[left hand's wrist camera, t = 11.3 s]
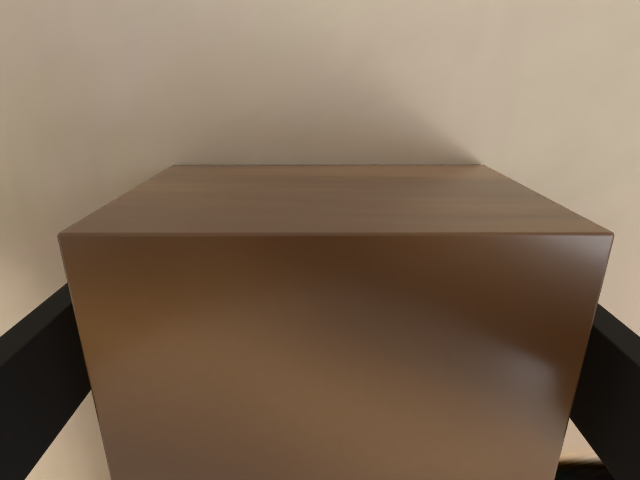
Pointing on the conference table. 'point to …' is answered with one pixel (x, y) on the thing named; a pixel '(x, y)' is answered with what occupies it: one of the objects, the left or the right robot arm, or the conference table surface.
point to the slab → (334, 323)
